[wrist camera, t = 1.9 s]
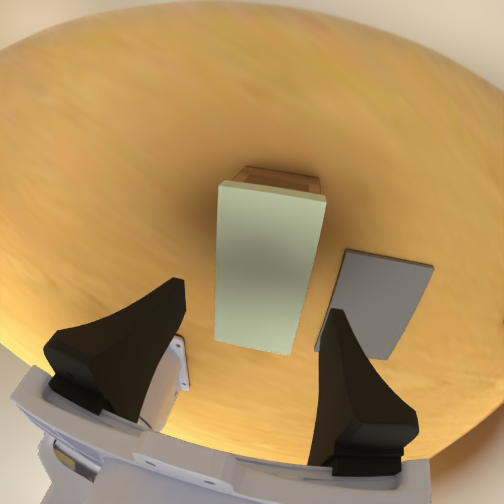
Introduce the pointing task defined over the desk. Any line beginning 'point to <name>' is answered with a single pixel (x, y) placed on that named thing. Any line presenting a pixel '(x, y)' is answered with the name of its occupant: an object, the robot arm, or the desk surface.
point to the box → (279, 179)
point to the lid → (263, 263)
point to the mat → (378, 299)
